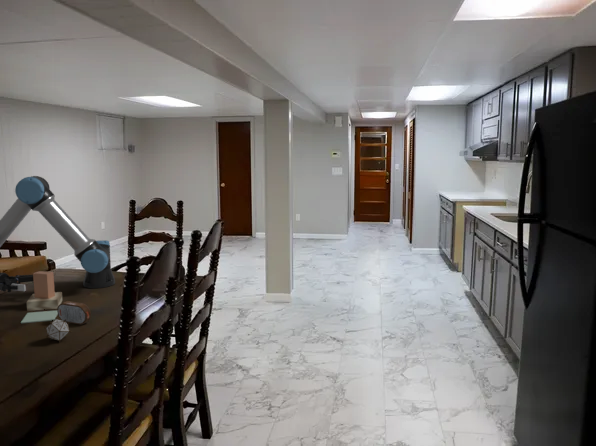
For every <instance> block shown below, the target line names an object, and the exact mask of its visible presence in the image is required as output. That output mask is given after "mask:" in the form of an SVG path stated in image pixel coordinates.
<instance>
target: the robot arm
mask: <svg viewBox="0 0 596 446" xmlns="http://www.w3.org/2000/svg"><path fill="white" fill-rule="evenodd" d="M14 190H15V191H14V192H15V196H16V197H17V199H16V200H15V202H13V204H12V205H11V206H10V207H9V209H8V210H7V211H6V213H4V215H3V216H2V217H1V218H0V248H1V247H2V246H3V244H5V242H6V241H7V240H8V238H9V237H10V236H11V235H12V233H13V232H14V231H15V230H16V229H17V227H18V226H19V225H20V224H21V223H22V221H23V220H24V218H25V217H26V216H27V215H28V213H30V211H35V212H39V213H38V214H40V215H41V216H42V217H43V218H44V219H45V220H46V221H47V222H48V224H49V225H50V226H51V227H52V228H53V229H54V230H55V231H56V232H57V233H58V235H60V237H62V239H63V240H64V241H65V242H66V243H67V244H68V245H69V247H71V248H72V249H73V250H74V253H73V254H74V255H73V256H74V257H76V259H77V260H78V261H79V262H80V265H81V267H82V268H83V269H84V270H85V275H84V279H83V287H84V288H87V289H103V288H107V287H113V286H114V285H115V284H116V278H115V276H114V273H113V271H112V268H111V266H112V265H111V245H110V241H109V240H103V239H102V240H96V239H93V238H90V237H88V235H87V234H86V233H85V232H84V231H83V230H82V228H81V227H80V226H79V225H78V224H77V223H76V222H75V221H74V220H73V219H72V218H71V216H69V214H68V213H67V212H66V210H64V209H63V208H62V207H61V206H60V205H59V203H58V202H57V201H56V200H55V194H54V192H52V190H51V189H50V184H49V182H48V181H47V180H46V179H45V178H44V177H42V176H37V175H33V176H32V175H31V176H26V177H23V178H21V180H19V181H18V182H17V183H16V185H15V189H14ZM22 283H34V281H33V274H15V276H13V275H9V274H8V273H6V272H0V291H1V292H5V293H6V291H7V293H11V292H12V291H17V292H18V291H19V292H25V291H27V288H26V284H22Z"/></svg>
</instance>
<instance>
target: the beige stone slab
mask: <svg viewBox="0 0 596 446" xmlns="http://www.w3.org/2000/svg"><path fill="white" fill-rule="evenodd" d="M61 303H63V292H62V291H57V292H56V291H55V296H54V297H51V298H49V299H46V298H35V295H34V293H32V295H30V296H29V298H28V300H27V301H26V311H27V312H29V311H31V312H33V311H44V309H45V310H54V309H55V310H57V308H58V306H59V305H60V304H61Z"/></svg>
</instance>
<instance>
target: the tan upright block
mask: <svg viewBox="0 0 596 446" xmlns="http://www.w3.org/2000/svg"><path fill="white" fill-rule="evenodd" d="M32 275H33V290H34V291H33V292H34V293H33V294H34V295H35V298H46V299H49V298H51V297H54V296H55V292H56V291H55V277H54V276H55V275H54V271H44V270H43V271H42V270H39V271H36V272H33V273H32Z"/></svg>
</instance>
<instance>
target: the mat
mask: <svg viewBox="0 0 596 446" xmlns="http://www.w3.org/2000/svg"><path fill="white" fill-rule="evenodd" d="M57 316H58V312H57V309H55V310H47V311H44V310H43V311H34V312H33V311H31V312H27V313H26V314H25V316H24V317H23V318H22V320H21V322H20V323H21V324H28V323H39V322H53V321H54V320H56V319H55V318H56V317H57ZM52 320H53V321H52Z"/></svg>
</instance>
